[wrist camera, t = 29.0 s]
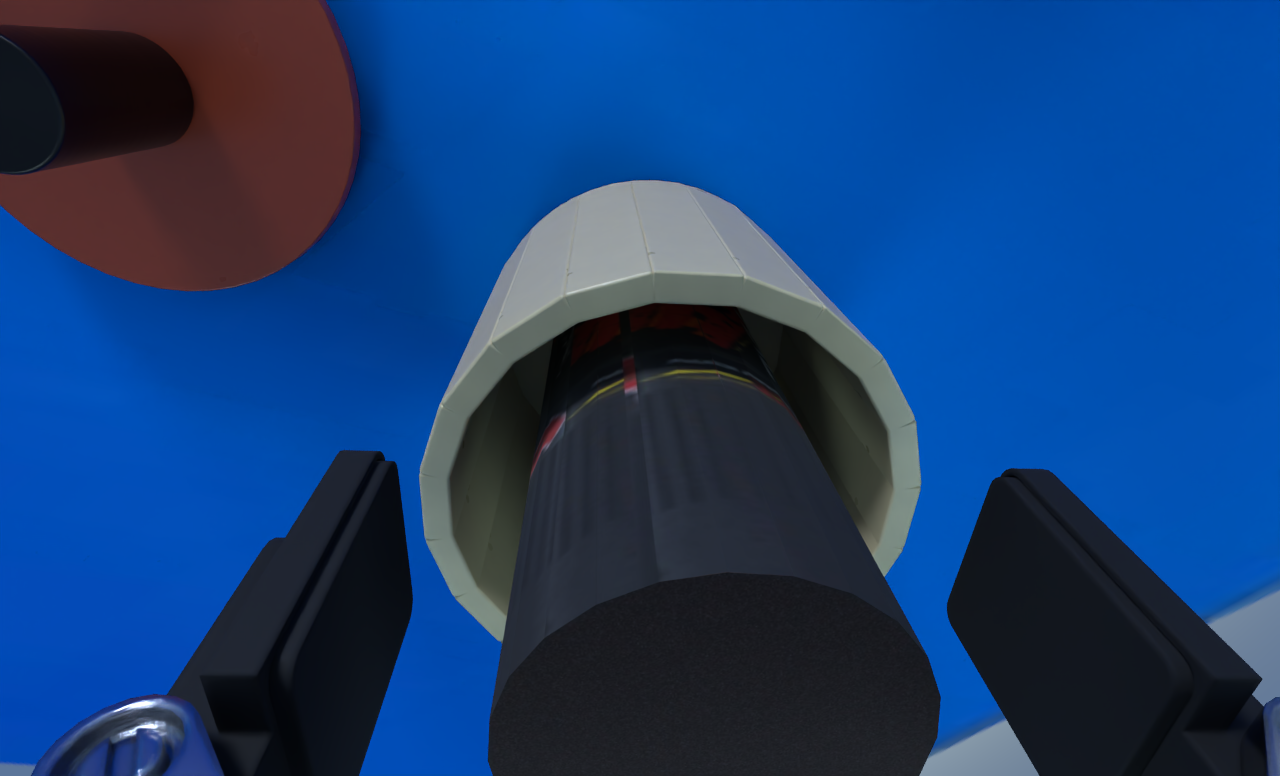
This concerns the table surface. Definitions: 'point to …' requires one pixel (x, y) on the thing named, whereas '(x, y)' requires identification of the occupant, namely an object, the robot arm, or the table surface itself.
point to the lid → (176, 133)
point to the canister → (629, 278)
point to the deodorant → (695, 577)
